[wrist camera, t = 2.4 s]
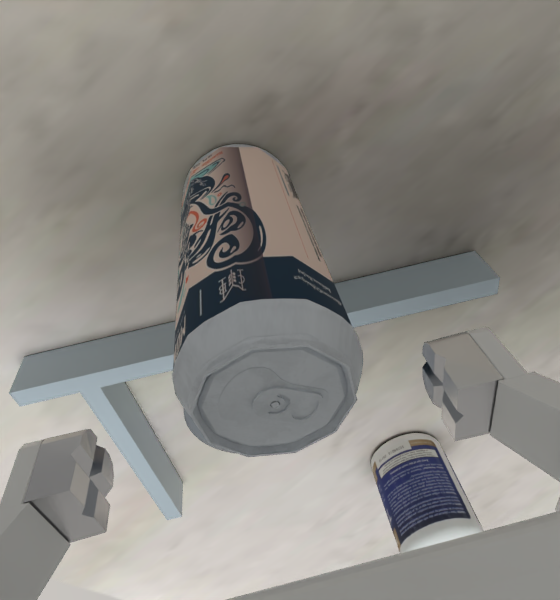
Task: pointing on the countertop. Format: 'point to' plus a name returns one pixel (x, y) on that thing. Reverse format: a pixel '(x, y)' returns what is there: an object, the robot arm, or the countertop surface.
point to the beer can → (257, 312)
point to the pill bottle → (421, 493)
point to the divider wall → (160, 356)
